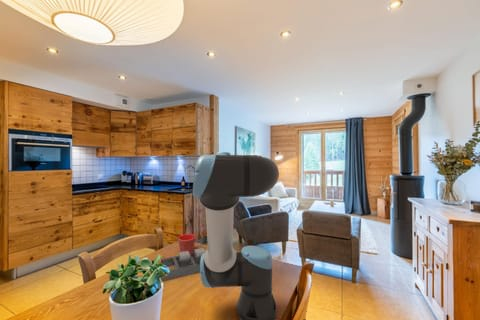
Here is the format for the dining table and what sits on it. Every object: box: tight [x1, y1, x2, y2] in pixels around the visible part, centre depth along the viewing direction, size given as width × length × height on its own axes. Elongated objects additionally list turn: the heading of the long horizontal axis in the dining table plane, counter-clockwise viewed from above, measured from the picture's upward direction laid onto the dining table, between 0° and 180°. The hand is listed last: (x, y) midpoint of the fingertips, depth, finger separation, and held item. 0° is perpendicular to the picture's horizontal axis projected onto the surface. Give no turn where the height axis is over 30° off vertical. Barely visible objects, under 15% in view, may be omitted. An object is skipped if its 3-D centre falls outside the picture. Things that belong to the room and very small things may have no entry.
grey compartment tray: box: [160, 252, 201, 282], centre depth 111 cm, size 15×27×4 cm, turn 116°
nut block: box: [177, 251, 190, 268], centre depth 111 cm, size 5×5×8 cm
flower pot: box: [177, 233, 197, 254], centre depth 131 cm, size 11×11×10 cm
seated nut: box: [193, 247, 206, 264], centre depth 115 cm, size 5×5×8 cm
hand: (222, 224), depth 106 cm, fingers open, 13 cm apart
